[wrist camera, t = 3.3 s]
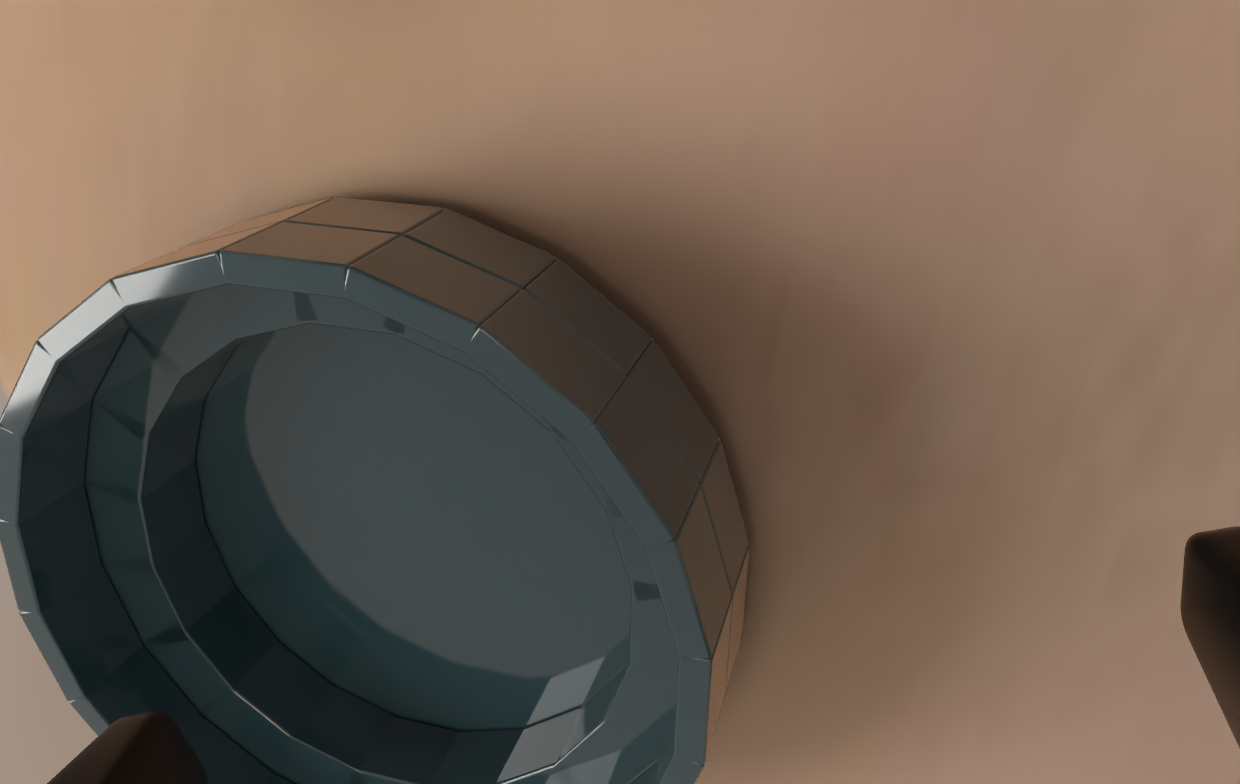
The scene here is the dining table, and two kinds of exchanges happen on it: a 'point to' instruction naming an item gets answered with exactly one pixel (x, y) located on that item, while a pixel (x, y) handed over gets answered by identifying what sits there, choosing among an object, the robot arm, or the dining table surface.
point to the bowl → (375, 510)
